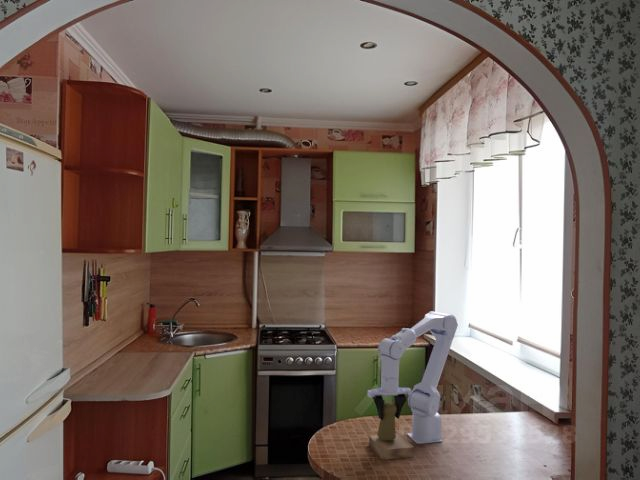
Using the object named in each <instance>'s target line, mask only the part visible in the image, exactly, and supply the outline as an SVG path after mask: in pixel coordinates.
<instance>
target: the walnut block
mask: <svg viewBox="0 0 640 480" xmlns="http://www.w3.org/2000/svg"><path fill="white" fill-rule="evenodd" d="M368 446H370V448H371V449H372V450H373V451H374V452H375V454H376V455H377V456H378V457H379V459H380V460H391V459H393V460H395V459H400V458H401V459H403V458H412V457H413V458H414V457H415V446H414V445H413V444H412V443H411V442H409V440H408V439H406V437H404V435H402V434H401V432H398V433H396V438H395V439H394V440H384V439H381V438H379V437H378V435H377V434H375V435H368Z"/></svg>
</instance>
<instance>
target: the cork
mask: <svg viewBox="0 0 640 480" xmlns="http://www.w3.org/2000/svg"><path fill="white" fill-rule="evenodd" d="M396 411H397V407H396V405H395V402H392V401H385V402H384V407H383V420H380V421H379V425H378V428H377V429H378V430H377V434H376V435H378V437H379V438H381V439H384V440H394V439H395V438H396V432H397V431H396V417H395V413H396Z"/></svg>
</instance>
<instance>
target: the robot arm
mask: <svg viewBox="0 0 640 480" xmlns="http://www.w3.org/2000/svg"><path fill="white" fill-rule="evenodd" d="M458 325H459V324H458V320H457V318H456V316H455V315H454V314H449V313H443V312H439V311H438V312H437V311H433V310H431V311H429V312H428V313H426V314H424V318H422V319H420V321H418V322H417V323H416V324H415V325H413V326H412V327H411V328H407V327H406V328H405V327H403V328H401V330H400V331H399V332H396V334H392V335H391V336H390V338H389V337H388V338H386V337H385V338H383V339H382V340H381V341H380V342H379V344H378V346H377V352H378V354H379V356H380V357H379V359H380V362H381V366H380V368H381V369H380V387H378V388H373V389H367V397H368V398H370V399H373V402H374V404H375V407H376V410H377V416H378V419H380V420H383V407H384V402H386V400H384V398H383V397H391V396H392V397H393V398H394V404H395V405H396V407H397V411H396V413H395V419H400V416H401V412H402V409H403V407H404V405H405V403H406V402H407V404H408V406H409V407H410V412H412V417H411V418H412V419H411V420H412V421H411V422H412V423H411V432H408V433H407V436H408V437H409V438H410V439H411V440H412V441H413V442H415V443H416V444H418V445H419V444H430V443H440V442H441V443H442V442H443V440H442V419H441V416H440V414H439V412H438V411H439V410H440V401H441V394H440V392H439V391H438V389H437V387H438V384H439V381H440V379H441V376H442V373H443V370H444V367H445V365H446V361H447V358H448V356H449V352H450V349H451V346H452V343H453V340H454V338H455V335H456V332H457V329H458ZM427 332H430V333H431V334H432V336H433V337H434V338H435V342H434V344H433V348H432V351H431V353H430V356H429V359H428V363H427V365H426V369H425V371H424V373H423V376H422V378H421V382H419V383H417V384H415V385H413V388H410V387H399V383H400V382H399V379H400V378H399V377H400V375H399V374H400V359H401V358H402V356H403V354H404V352H405V351H406V350H407V349H408V348H409V347H411V346H412V345H414V344H416V342H417V338H418V337H420V336H422V335H423V334H425V333H427ZM407 396H408V397H407Z"/></svg>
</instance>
